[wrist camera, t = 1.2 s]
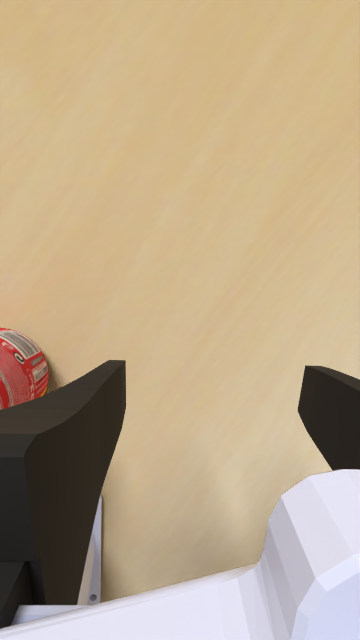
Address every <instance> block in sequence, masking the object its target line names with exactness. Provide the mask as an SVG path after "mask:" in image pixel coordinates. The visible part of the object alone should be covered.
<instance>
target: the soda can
mask: <svg viewBox="0 0 360 640" xmlns="http://www.w3.org/2000/svg"><path fill="white" fill-rule="evenodd" d="M48 381H49V372H48V365H47V362H46V359H45V357H44V355H43V353H42V351H41V350H40V349H39V347H38V346H37V345H36V344H35V343H34V342H33V341H32V340H31V339H29V338H28V337H26V336H25V335H23V334H21V333H19V332H16V331H13V330H10V329H5V328H0V410H1V409H5V408H9V407H12V406H15V405H18V404H21V403H24V402H27V401H30V400H33V399H36V398H39V397H41V396H43V395H45V392H46V390H47V386H48Z"/></svg>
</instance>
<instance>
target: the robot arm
mask: <svg viewBox="0 0 360 640" xmlns="http://www.w3.org/2000/svg"><path fill="white" fill-rule="evenodd" d="M125 409H126V366H125V361H124V360H109V361H107V362H105V363H103V364H102V365H100V366H98V367H97V368H95V369H94V370H92V371H90V372H89V373H87V374H85V375H84V376H82V377H80V378H78V379H77V380H75V381H73V382H71V383H69V384H67V385H65V386H64V387H62V388H59V389H57V390H55V391H53V392H51V393H48V394H46V395H43V396H41V397H39V398H36V399H33V400H30V401H27V402H24V403H21V404H18V405H15V406H12V407H9V408H5V409H1V410H0V640H360V380H359V379H357V378H354V377H352V376H349V375H346V374H344V373H341V372H339V371H336V370H333V369H330V368H326V367H322V366H305V371H304V377H303V382H302V388H301V394H300V400H299V405H298V413H299V415H300V417H301V419H302V422H303V424H304V426H305V428H306V430H307V432H308V434H309V435H310V437H311V438H312V440H313V441H314V443H315V444H316V446H317V448H318V449H319V451H320V452H321V454H322V455H323V457H324V458H325V460H326V461H327V463H328V464H329V466H330V467H331V469H332V470H333V471H329V472H324V473H319V474H314V475H309V476H307V477H306V478H304V479H303V480H301V481H300V482H298V483H297V484H296V485H294V486H293V487H291V488H290V489H288V490H287V491H286V492H284V493H283V494H282V495H281V497H280V499H279V501H278V503H277V505H276V506H275V508H274V510H273V512H272V514H271V516H270V518H269V520H268V524H267V531H266V537H265V543H264V549H263V552H262V555H261V558H260V560H259V561H258V562H257V563H255V564H251V565H247V566H243V567H239V568H235V569H231V570H227V571H223V572H220V573H216V574H212V575H208V576H204V577H200V578H196V579H192V580H188V581H184V582H180V583H177V584H173V585H169V586H165V587H161V588H157V589H153V590H149V591H145V592H141V593H138V594H134V595H130V596H126V597H122V598H118V599H114V600H110V601H106V602H102V603H100V596H101V518H102V497H101V495H100V494H101V490H102V487H103V483H104V480H105V477H106V474H107V471H108V468H109V465H110V462H111V459H112V456H113V453H114V450H115V447H116V444H117V441H118V438H119V435H120V432H121V429H122V425H123V420H124V414H125ZM93 594H94V595H95V596H92V595H93Z"/></svg>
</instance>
